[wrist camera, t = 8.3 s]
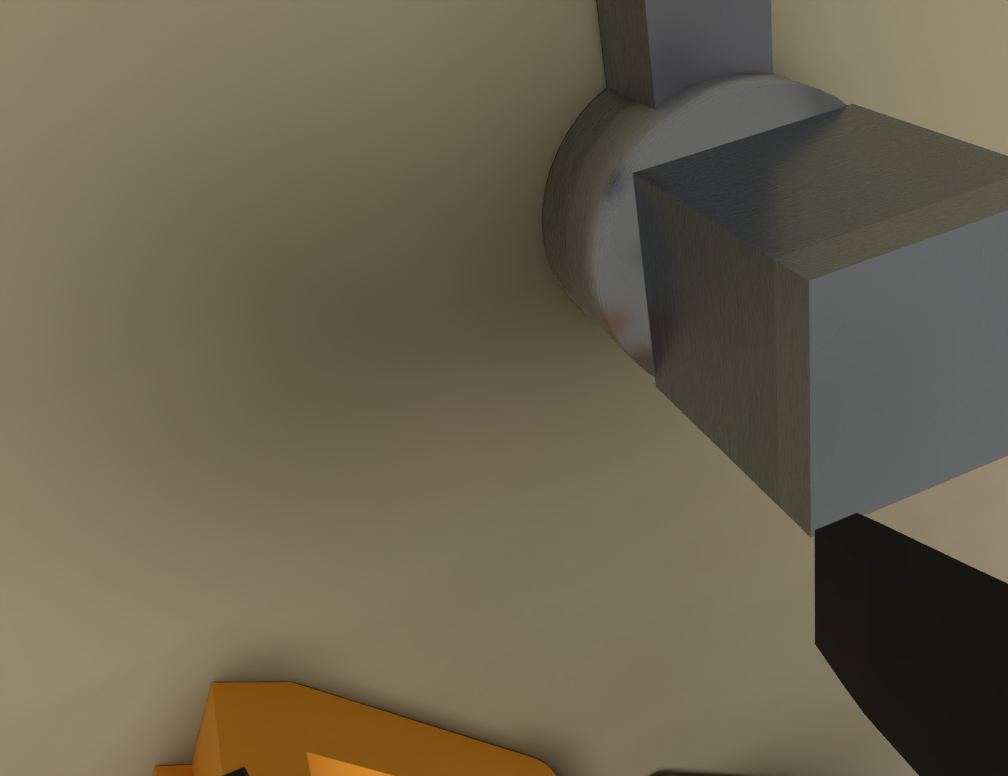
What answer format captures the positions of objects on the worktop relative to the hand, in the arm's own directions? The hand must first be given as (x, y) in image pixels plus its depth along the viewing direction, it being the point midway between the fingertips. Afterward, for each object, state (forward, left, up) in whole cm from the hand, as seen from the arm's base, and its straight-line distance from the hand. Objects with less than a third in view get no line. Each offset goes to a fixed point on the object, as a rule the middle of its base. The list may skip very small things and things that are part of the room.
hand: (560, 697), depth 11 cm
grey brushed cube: (-5, -5, -7) cm, 10 cm away
